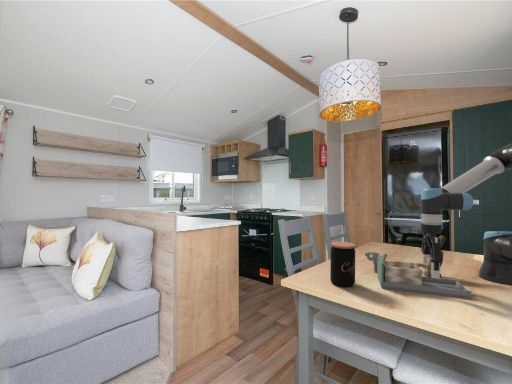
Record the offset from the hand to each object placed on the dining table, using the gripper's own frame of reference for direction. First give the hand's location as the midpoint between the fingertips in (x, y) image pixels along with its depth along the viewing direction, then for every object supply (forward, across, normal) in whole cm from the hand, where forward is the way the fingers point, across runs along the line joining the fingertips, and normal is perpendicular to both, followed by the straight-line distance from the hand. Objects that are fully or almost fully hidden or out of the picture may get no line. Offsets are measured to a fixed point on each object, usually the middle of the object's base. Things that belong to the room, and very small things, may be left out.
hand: (430, 273), depth 112 cm
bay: (+6, 0, -4) cm, 8 cm away
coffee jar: (+7, +8, -36) cm, 38 cm away
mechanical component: (+7, -16, -20) cm, 26 cm away
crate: (+6, 0, -9) cm, 10 cm away
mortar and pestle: (+7, -20, +7) cm, 23 cm away
